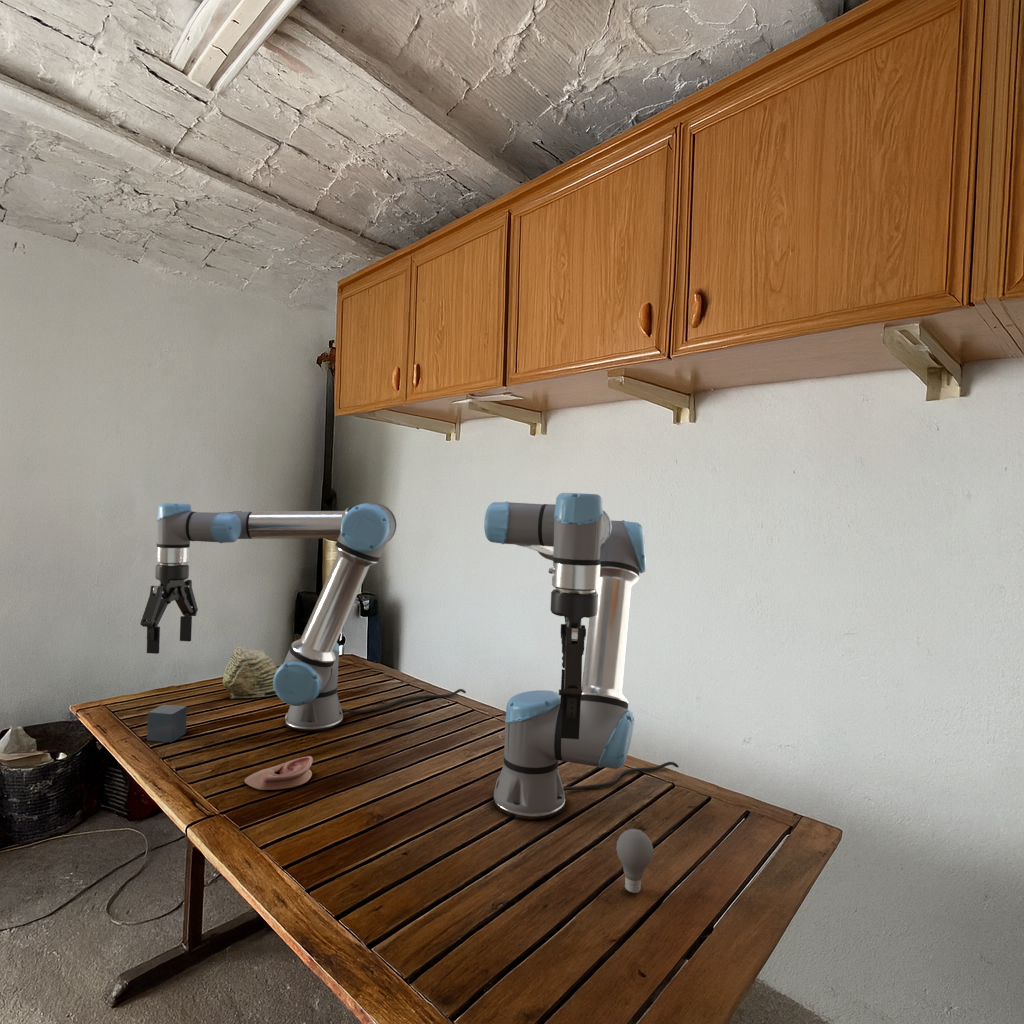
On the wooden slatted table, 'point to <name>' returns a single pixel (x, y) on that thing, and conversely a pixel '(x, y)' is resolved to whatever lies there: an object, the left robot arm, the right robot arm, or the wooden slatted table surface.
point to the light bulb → (634, 857)
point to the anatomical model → (282, 775)
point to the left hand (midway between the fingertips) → (169, 646)
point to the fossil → (249, 674)
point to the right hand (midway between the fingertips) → (568, 722)
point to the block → (166, 723)
